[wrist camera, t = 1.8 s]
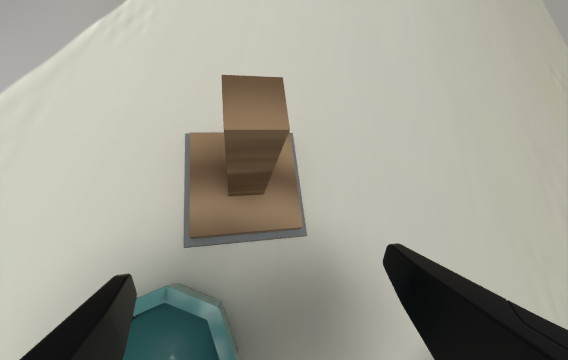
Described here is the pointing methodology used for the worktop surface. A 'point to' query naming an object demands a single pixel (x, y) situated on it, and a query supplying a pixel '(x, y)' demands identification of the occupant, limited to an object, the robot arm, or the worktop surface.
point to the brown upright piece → (245, 164)
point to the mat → (234, 238)
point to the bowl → (179, 327)
